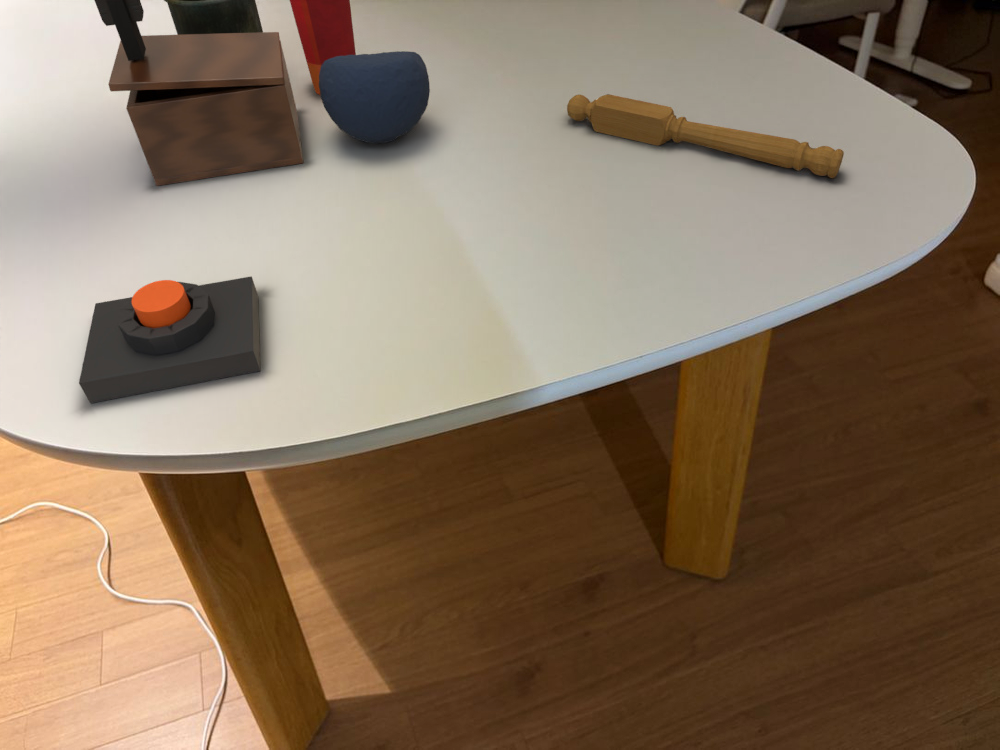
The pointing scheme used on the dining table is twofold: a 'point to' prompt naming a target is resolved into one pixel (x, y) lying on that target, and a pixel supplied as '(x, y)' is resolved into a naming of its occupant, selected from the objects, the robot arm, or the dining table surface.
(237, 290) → the switch block
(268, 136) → the box
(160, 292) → the button
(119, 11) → the robot arm
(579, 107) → the wooden table leg
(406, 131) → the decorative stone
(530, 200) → the dining table surface
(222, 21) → the mug
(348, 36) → the red tall block
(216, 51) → the box lid
